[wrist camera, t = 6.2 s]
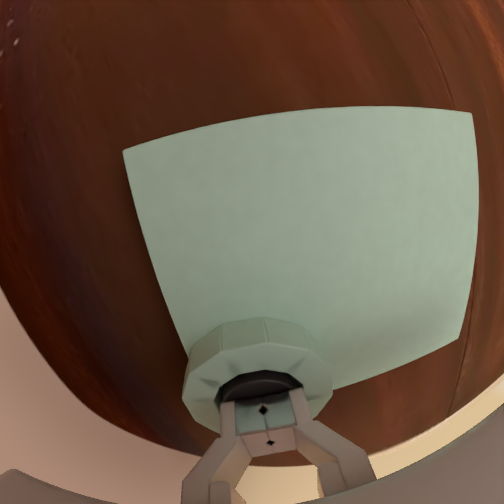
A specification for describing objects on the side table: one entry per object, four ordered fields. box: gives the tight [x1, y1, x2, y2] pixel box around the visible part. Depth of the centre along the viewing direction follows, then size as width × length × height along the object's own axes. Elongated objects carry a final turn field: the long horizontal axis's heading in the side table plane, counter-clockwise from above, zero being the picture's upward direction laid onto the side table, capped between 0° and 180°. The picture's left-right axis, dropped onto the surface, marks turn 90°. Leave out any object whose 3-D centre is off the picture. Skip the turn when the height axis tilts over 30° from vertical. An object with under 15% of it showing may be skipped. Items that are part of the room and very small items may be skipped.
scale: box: [122, 106, 479, 434], centre depth 10 cm, size 14×12×3 cm
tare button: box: [222, 370, 295, 402], centre depth 10 cm, size 3×3×2 cm
